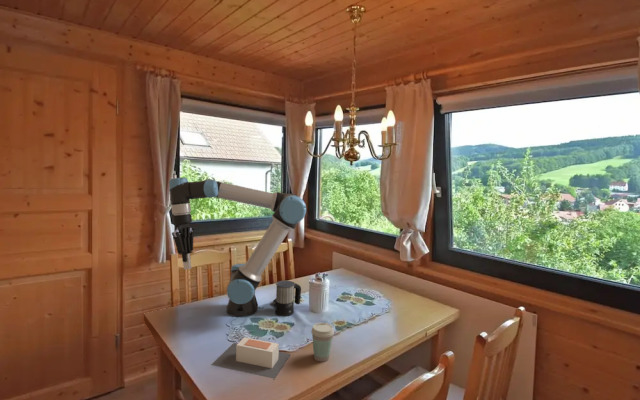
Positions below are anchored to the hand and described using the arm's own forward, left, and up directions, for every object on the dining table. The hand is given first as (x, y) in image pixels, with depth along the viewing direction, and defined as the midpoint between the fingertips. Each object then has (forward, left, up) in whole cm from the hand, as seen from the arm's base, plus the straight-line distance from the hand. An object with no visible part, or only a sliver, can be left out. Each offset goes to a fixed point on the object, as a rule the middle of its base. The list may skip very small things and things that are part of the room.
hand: (187, 268), depth 145 cm
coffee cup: (-28, +55, -26) cm, 67 cm away
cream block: (-4, +35, -22) cm, 42 cm away
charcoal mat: (-7, +40, -26) cm, 48 cm away
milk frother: (-44, +11, -26) cm, 52 cm away
